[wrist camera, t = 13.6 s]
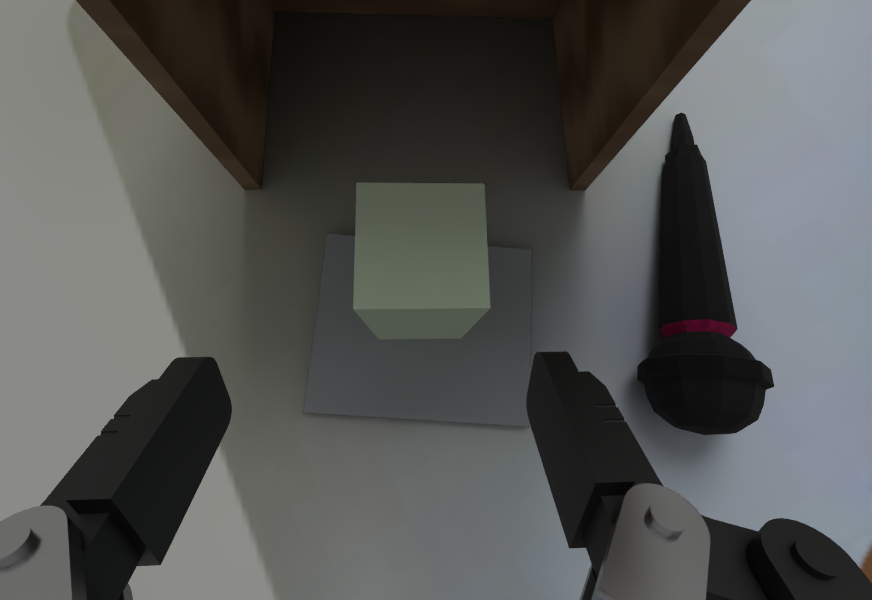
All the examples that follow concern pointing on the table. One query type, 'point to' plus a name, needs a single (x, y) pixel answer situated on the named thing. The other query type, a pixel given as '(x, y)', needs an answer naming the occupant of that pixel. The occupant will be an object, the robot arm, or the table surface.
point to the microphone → (697, 310)
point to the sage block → (421, 259)
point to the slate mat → (423, 352)
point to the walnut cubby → (566, 3)
